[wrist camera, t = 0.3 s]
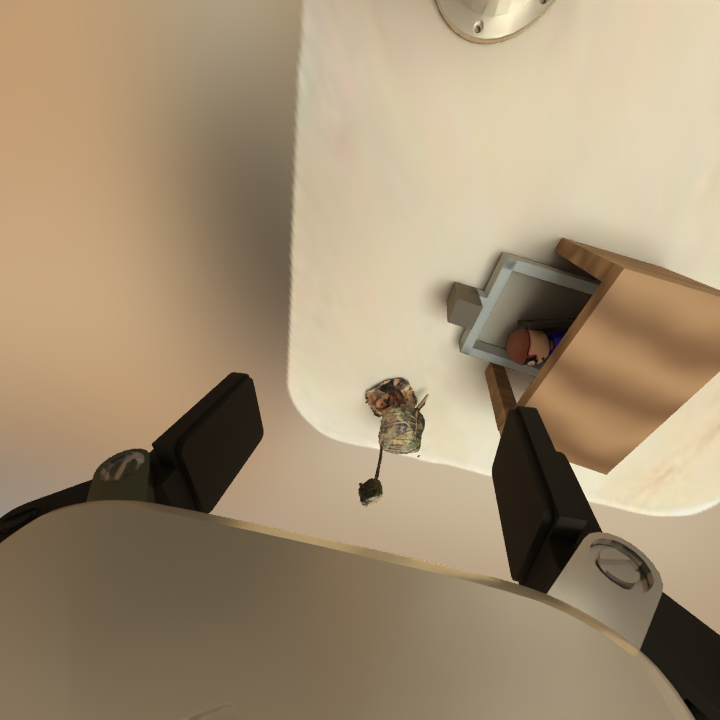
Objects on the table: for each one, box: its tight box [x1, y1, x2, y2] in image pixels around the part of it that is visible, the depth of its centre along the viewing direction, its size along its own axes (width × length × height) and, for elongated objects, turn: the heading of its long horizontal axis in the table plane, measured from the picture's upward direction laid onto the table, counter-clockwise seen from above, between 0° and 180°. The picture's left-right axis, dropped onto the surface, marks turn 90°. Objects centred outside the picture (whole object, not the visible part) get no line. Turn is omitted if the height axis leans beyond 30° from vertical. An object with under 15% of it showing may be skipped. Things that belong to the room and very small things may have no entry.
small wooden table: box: [485, 238, 720, 474], centre depth 35 cm, size 20×12×15 cm, turn 165°
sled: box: [447, 252, 601, 377], centre depth 39 cm, size 13×26×7 cm, turn 75°
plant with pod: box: [359, 378, 429, 507], centre depth 45 cm, size 8×11×20 cm
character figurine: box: [506, 318, 576, 366], centre depth 38 cm, size 8×7×15 cm
